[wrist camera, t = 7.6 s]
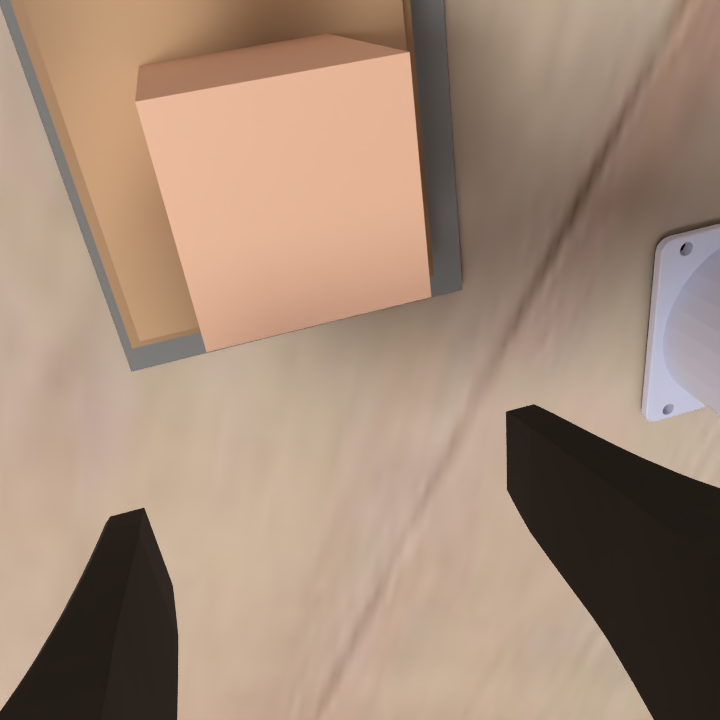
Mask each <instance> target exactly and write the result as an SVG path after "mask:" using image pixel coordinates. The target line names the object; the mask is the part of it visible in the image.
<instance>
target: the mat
mask: <svg viewBox="0 0 720 720" xmlns="http://www.w3.org/2000/svg"><path fill="white" fill-rule="evenodd" d="M410 5H411V17H412V28H413V40H414V51H415V62H416V74H417V85H418V97H419V108H420V120H421V131H422V143H423V154H424V165H425V177H426V188H427V200H428V211H429V223H430V234H431V245H432V257H433V268H434V275H433V276H430V288H431V297H434V296H438V295H442V294H446V293H450V292H454V291H458V290H462V275H461V260H460V244H459V229H458V214H457V198H456V183H455V168H454V152H453V137H452V122H451V107H450V91H449V76H448V61H447V45H446V30H445V15H444V0H410ZM0 6H1V9H2V12H3V15H4V17H5V20H6V23H7V26H8V28H9V31H10V34H11V37H12V40H13V42H14V45H15V48H16V51H17V54H18V56H19V59H20V62H21V65H22V68H23V70H24V73H25V76H26V79H27V81H28V84H29V87H30V90H31V93H32V95H33V98H34V101H35V104H36V107H37V109H38V112H39V115H40V118H41V120H42V123H43V126H44V129H45V132H46V134H47V137H48V140H49V143H50V146H51V148H52V151H53V154H54V157H55V160H56V162H57V165H58V168H59V171H60V173H61V176H62V179H63V182H64V185H65V187H66V190H67V193H68V196H69V199H70V201H71V204H72V207H73V210H74V212H75V215H76V218H77V221H78V224H79V226H80V229H81V232H82V235H83V238H84V240H85V243H86V246H87V249H88V252H89V254H90V257H91V260H92V263H93V265H94V268H95V271H96V274H97V277H98V279H99V282H100V285H101V288H102V291H103V293H104V296H105V299H106V302H107V304H108V307H109V310H110V313H111V316H112V318H113V321H114V324H115V327H116V330H117V332H118V335H119V338H120V341H121V344H122V346H123V349H124V352H125V355H126V357H127V360H128V363H129V366H130V369H131V371H136V370H140V369H144V368H148V367H152V366H156V365H160V364H164V363H168V362H172V361H176V360H180V359H184V358H188V357H192V356H196V355H200V354H204V353H208V352H206V349H205V345H204V342H203V338H202V334H201V332H199V333H195V334H191V335H187V336H182V337H178V338H174V339H170V340H166V341H162V342H158V343H154V344H150V345H145V346H141V347H137V348H133V349H132V346H131V344H130V341H129V338H128V335H127V332H126V329H125V326H124V324H123V321H122V318H121V315H120V312H119V309H118V306H117V304H116V301H115V298H114V295H113V292H112V289H111V287H110V284H109V281H108V278H107V275H106V272H105V269H104V267H103V264H102V261H101V258H100V255H99V252H98V250H97V247H96V244H95V241H94V238H93V235H92V232H91V230H90V227H89V224H88V221H87V218H86V215H85V212H84V210H83V207H82V204H81V201H80V198H79V195H78V193H77V190H76V187H75V184H74V181H73V178H72V175H71V173H70V170H69V167H68V164H67V161H66V158H65V156H64V153H63V150H62V147H61V144H60V141H59V138H58V136H57V133H56V130H55V127H54V124H53V121H52V118H51V116H50V113H49V110H48V107H47V104H46V101H45V99H44V96H43V93H42V90H41V87H40V84H39V81H38V79H37V76H36V73H35V70H34V67H33V64H32V62H31V59H30V56H29V53H28V50H27V47H26V44H25V42H24V39H23V36H22V33H21V30H20V27H19V24H18V22H17V19H16V16H15V13H14V10H13V7H12V5H11V2H10V0H0ZM429 298H430V297H429ZM425 299H426V298H425ZM421 300H422V299H421ZM417 301H418V300H417ZM384 309H385V308H384ZM380 310H381V309H380ZM376 311H377V310H376ZM372 312H373V311H372ZM368 313H369V312H368ZM364 314H365V313H364ZM360 315H361V314H360ZM356 316H357V315H356ZM352 317H353V316H352ZM348 318H349V317H348ZM344 319H345V318H344ZM340 320H341V319H340ZM336 321H337V320H336ZM332 322H333V321H332ZM328 323H329V322H328ZM324 324H325V323H324ZM319 325H321V324H319ZM315 326H317V325H315ZM311 327H313V326H311ZM307 328H309V327H307ZM303 329H305V328H303ZM299 330H301V329H299ZM295 331H297V330H295ZM291 332H293V331H291ZM287 333H289V332H287ZM283 334H285V333H283ZM279 335H281V334H279ZM275 336H277V335H275ZM271 337H273V336H271ZM267 338H269V337H267ZM263 339H265V338H263ZM258 340H261V339H258ZM254 341H257V340H254ZM250 342H253V341H250ZM246 343H248V342H246ZM242 344H244V343H242ZM238 345H240V344H238ZM234 346H236V345H234ZM230 347H232V346H230ZM226 348H228V347H226ZM222 349H224V348H222ZM218 350H220V349H218ZM214 351H216V350H214ZM210 352H212V351H210Z"/></svg>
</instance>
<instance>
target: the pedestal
mask: <svg viewBox="0 0 720 720" xmlns="http://www.w3.org/2000/svg"><path fill="white" fill-rule="evenodd" d="M10 2H11V5H12V7H13V10H14V13H15V16H16V19H17V22H18V24H19V27H20V30H21V33H22V36H23V39H24V42H25V44H26V47H27V50H28V53H29V56H30V59H31V62H32V64H33V67H34V70H35V73H36V76H37V79H38V81H39V84H40V87H41V90H42V93H43V96H44V99H45V101H46V104H47V107H48V110H49V113H50V116H51V118H52V121H53V124H54V127H55V130H56V133H57V136H58V138H59V141H60V144H61V147H62V150H63V153H64V156H65V158H66V161H67V164H68V167H69V170H70V173H71V175H72V178H73V181H74V184H75V187H76V190H77V193H78V195H79V198H80V201H81V204H82V207H83V210H84V212H85V215H86V218H87V221H88V224H89V227H90V230H91V232H92V235H93V238H94V241H95V244H96V247H97V250H98V252H99V255H100V258H101V261H102V264H103V267H104V269H105V272H106V275H107V278H108V281H109V284H110V287H111V289H112V292H113V295H114V298H115V301H116V304H117V306H118V309H119V312H120V315H121V318H122V321H123V324H124V326H125V329H126V332H127V335H128V338H129V341H130V344H131V346H132V349H133V348H137V347H141V346H145V345H150V344H154V343H158V342H162V341H166V340H170V339H174V338H178V337H182V336H187V335H191V334H195V333H199V332H201V331H200V327H199V324H198V320H197V317H196V313H195V310H194V306H193V303H192V299H191V296H190V292H189V289H188V285H187V282H186V278H185V275H184V271H183V268H182V264H181V261H180V257H179V254H178V250H177V247H176V243H175V240H174V236H173V233H172V229H171V226H170V222H169V219H168V215H167V212H166V208H165V205H164V201H163V198H162V194H161V191H160V187H159V184H158V180H157V177H156V173H155V170H154V166H153V163H152V159H151V156H150V152H149V149H148V145H147V142H146V138H145V135H144V131H143V128H142V124H141V121H140V117H139V114H138V110H137V107H136V103H135V98H136V88H137V78H138V68H139V66H143V65H148V64H154V63H160V62H166V61H172V60H177V59H183V58H189V57H195V56H201V55H206V54H212V53H218V52H224V51H230V50H235V49H241V48H247V47H253V46H258V45H264V44H270V43H276V42H282V41H287V40H293V39H299V38H305V37H311V36H316V35H322V34H332V35H336V36H341V37H345V38H350V39H354V40H358V41H363V42H367V43H372V44H376V45H381V46H385V47H389V48H394V49H398V50H403V51H407V52H410V62H411V73H412V85H413V96H414V107H415V119H416V130H417V141H418V152H419V164H420V175H421V186H422V197H423V209H424V220H425V231H426V243H427V254H428V265H429V276H433V275H434V268H433V257H432V245H431V234H430V223H429V211H428V200H427V188H426V177H425V165H424V154H423V143H422V131H421V120H420V108H419V97H418V85H417V74H416V62H415V51H414V40H413V28H412V17H411V5H410V0H10Z"/></svg>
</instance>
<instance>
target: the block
mask: <svg viewBox="0 0 720 720" xmlns="http://www.w3.org/2000/svg"><path fill="white" fill-rule="evenodd" d="M135 103H136V107H137V110H138V114H139V117H140V121H141V124H142V128H143V131H144V135H145V138H146V142H147V145H148V149H149V152H150V156H151V159H152V163H153V166H154V170H155V173H156V177H157V180H158V184H159V187H160V191H161V194H162V198H163V201H164V205H165V208H166V212H167V215H168V219H169V222H170V226H171V229H172V233H173V236H174V240H175V243H176V247H177V250H178V254H179V257H180V261H181V264H182V268H183V271H184V275H185V278H186V282H187V285H188V289H189V292H190V296H191V299H192V303H193V306H194V310H195V313H196V317H197V320H198V324H199V327H200V331H201V334H202V338H203V342H204V345H205V349H206V352H210V351H214V350H218V349H222V348H226V347H230V346H234V345H238V344H242V343H246V342H250V341H254V340H258V339H263V338H267V337H271V336H275V335H279V334H283V333H287V332H291V331H295V330H299V329H303V328H307V327H311V326H315V325H319V324H324V323H328V322H332V321H336V320H340V319H344V318H348V317H352V316H356V315H360V314H364V313H368V312H372V311H376V310H380V309H384V308H389V307H393V306H397V305H401V304H405V303H409V302H413V301H417V300H421V299H425V298H429V297H431V288H430V276H429V265H428V254H427V243H426V231H425V220H424V209H423V197H422V186H421V175H420V164H419V152H418V141H417V130H416V119H415V107H414V96H413V85H412V73H411V62H410V52H407V51H403V50H398V49H394V48H389V47H385V46H381V45H376V44H372V43H367V42H363V41H358V40H354V39H350V38H345V37H341V36H336V35H332V34H322V35H316V36H311V37H305V38H299V39H293V40H287V41H282V42H276V43H270V44H264V45H258V46H253V47H247V48H241V49H235V50H230V51H224V52H218V53H212V54H206V55H201V56H195V57H189V58H183V59H177V60H172V61H166V62H160V63H154V64H148V65H143V66H139V68H138V78H137V88H136V98H135Z"/></svg>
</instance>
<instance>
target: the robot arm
mask: <svg viewBox="0 0 720 720" xmlns="http://www.w3.org/2000/svg"><path fill="white" fill-rule="evenodd" d="M684 243H685V247H684V249H683V250H682V251H680V249H681V247H682V245H683V244H684ZM666 405H667V406H666ZM665 406H666V407H665ZM664 407H665V408H664ZM703 407H708V408H710V409H711V410H712V411H714V412H715V413H716V414H718V415H719V416H720V224H716V225H712V226H708V227H703V228H699V229H695V230H691V231H687V232H683V233H679V234H675V235H671V236H668V237H666V238H664V239H663V240H662V241H661V242H660V243H659V244H658V246H657V249H656V253H655V264H654V275H653V286H652V297H651V309H650V320H649V331H648V342H647V353H646V365H645V376H644V387H643V398H642V410H641V412H642V415H643V417H644V418H645V419H647V420H648V421H650V422H656V421H660V420H663V419H666V418H670V417H673V416H676V415H680V414H683V413H686V412H690V411H693V410H696V409H700V408H703ZM506 439H507V491H508V492H509V494H510V496H511V498H512V500H513V502H514V504H515V506H516V508H517V509H518V511H519V513H520V515H521V517H522V519H523V520H524V522H525V524H526V526H527V527H528V529H529V531H530V532H531V534H532V535H533V537H534V538H535V539H536V541H537V542H538V544H539V545H540V546H541V548H542V549H543V550H544V552H545V553H546V555H547V556H548V557H549V559H550V560H551V562H552V563H553V564H554V566H555V567H556V568H557V570H558V571H559V572H560V574H561V575H562V576H563V578H564V579H565V580H566V582H567V583H568V585H569V586H570V587H571V589H572V590H573V591H574V593H575V594H576V595H577V597H578V598H579V599H580V601H581V602H582V603H583V605H584V606H585V608H586V609H587V610H588V612H589V613H590V614H591V616H592V617H593V618H594V620H595V621H596V623H597V624H598V626H599V627H600V629H601V630H602V632H603V633H604V635H605V636H606V638H607V639H608V641H609V643H610V644H611V646H612V648H613V649H614V651H615V653H616V654H617V656H618V658H619V659H620V661H621V663H622V665H623V666H624V668H625V670H626V671H627V673H628V675H629V676H630V678H631V680H632V681H633V683H634V685H635V687H636V689H637V690H638V692H639V694H640V696H641V697H642V699H643V701H644V703H645V705H646V706H647V708H648V710H649V712H650V713H651V715H652V717H653V719H654V720H720V488H717V487H715V486H712V485H709V484H706V483H703V482H700V481H697V480H695V479H692V478H689V477H687V476H684V475H682V474H679V473H677V472H674V471H672V470H669V469H667V468H665V467H662V466H660V465H658V464H655V463H653V462H651V461H648V460H646V459H644V458H642V457H639V456H637V455H635V454H633V453H631V452H629V451H626V450H624V449H622V448H620V447H618V446H616V445H614V444H612V443H610V442H608V441H606V440H604V439H602V438H600V437H598V436H596V435H594V434H592V433H590V432H588V431H586V430H584V429H582V428H580V427H578V426H576V425H574V424H572V423H571V422H569V421H567V420H565V419H563V418H561V417H559V416H557V415H555V414H553V413H551V412H549V411H547V410H545V409H543V408H541V407H539V406H536V405H534V404H533V405H530V406H526V407H522V408H518V409H515V410H511V411H507V412H506ZM177 697H178V629H177V619H176V610H175V601H174V592H173V585H172V582H171V580H170V577H169V574H168V571H167V569H166V566H165V563H164V560H163V558H162V555H161V552H160V550H159V547H158V544H157V541H156V539H155V536H154V533H153V530H152V528H151V525H150V522H149V519H148V517H147V514H146V511H145V509H144V508H141V509H138V510H134V511H130V512H126V513H122V514H119V515H115V516H111V517H110V518H109V519H108V521H107V522H106V524H105V526H104V529H103V531H102V533H101V535H100V538H99V540H98V542H97V544H96V547H95V549H94V551H93V553H92V555H91V557H90V560H89V562H88V564H87V566H86V568H85V570H84V572H83V574H82V576H81V578H80V580H79V582H78V584H77V586H76V588H75V590H74V592H73V594H72V596H71V597H70V599H69V601H68V603H67V605H66V607H65V609H64V611H63V613H62V615H61V616H60V618H59V620H58V622H57V623H56V625H55V627H54V628H53V630H52V632H51V634H50V635H49V637H48V639H47V640H46V642H45V644H44V646H43V647H42V649H41V651H40V652H39V654H38V656H37V657H36V659H35V661H34V662H33V664H32V665H31V667H30V668H29V670H28V671H27V673H26V675H25V676H24V678H23V679H22V681H21V682H20V684H19V685H18V687H17V688H16V690H15V691H14V692H13V694H12V695H11V697H10V698H9V700H8V701H7V702H6V704H5V705H4V707H3V708H2V710H1V711H0V720H177Z"/></svg>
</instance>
